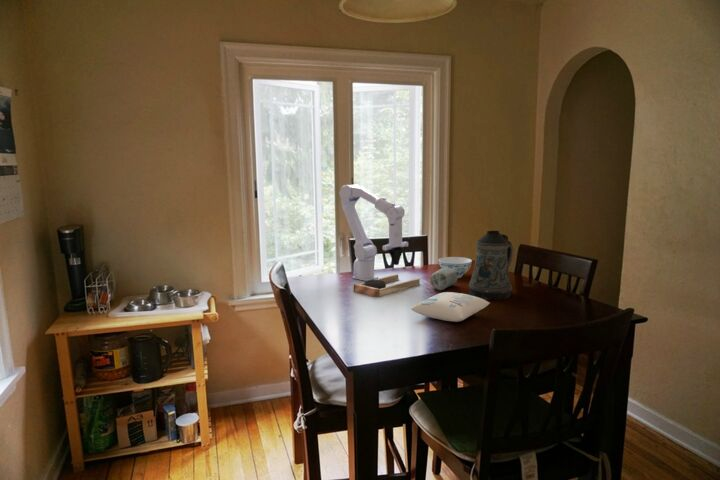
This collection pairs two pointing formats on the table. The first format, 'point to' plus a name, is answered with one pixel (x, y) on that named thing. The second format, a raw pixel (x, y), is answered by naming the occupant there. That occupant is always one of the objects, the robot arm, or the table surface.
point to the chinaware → (456, 264)
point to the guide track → (379, 292)
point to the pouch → (450, 306)
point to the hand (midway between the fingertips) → (395, 264)
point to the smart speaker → (375, 284)
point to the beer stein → (492, 267)
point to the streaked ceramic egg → (443, 278)
